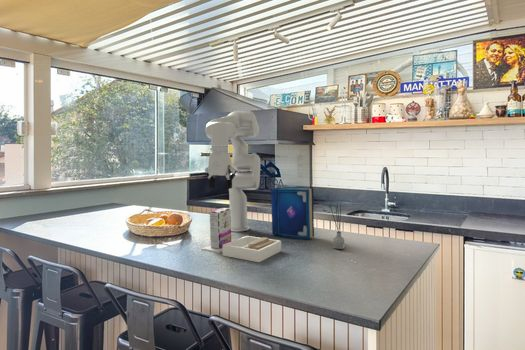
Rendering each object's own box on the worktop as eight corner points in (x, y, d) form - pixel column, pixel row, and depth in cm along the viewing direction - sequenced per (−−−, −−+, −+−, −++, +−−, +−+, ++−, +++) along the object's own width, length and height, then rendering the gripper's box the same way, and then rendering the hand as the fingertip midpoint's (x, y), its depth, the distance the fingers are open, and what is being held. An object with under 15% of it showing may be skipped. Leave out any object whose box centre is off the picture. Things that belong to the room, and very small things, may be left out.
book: (269, 235, 182) (269, 187, 181) (275, 233, 189) (275, 185, 187) (309, 240, 172) (309, 189, 170) (314, 237, 178) (314, 187, 177)
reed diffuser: (342, 252, 153) (342, 205, 151) (326, 250, 156) (326, 204, 154) (347, 246, 162) (347, 202, 160) (332, 244, 165) (332, 201, 163)
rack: (222, 255, 149) (222, 244, 149) (246, 245, 165) (246, 235, 164) (259, 262, 140) (259, 250, 140) (281, 250, 155) (281, 240, 155)
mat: (201, 249, 158) (201, 248, 158) (223, 241, 172) (223, 240, 172) (219, 252, 153) (219, 251, 153) (240, 244, 166) (240, 243, 166)
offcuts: (248, 257, 146) (248, 243, 146) (263, 250, 156) (263, 237, 156) (258, 259, 144) (258, 245, 143) (273, 252, 154) (273, 238, 153)
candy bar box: (222, 241, 169) (221, 207, 168) (231, 242, 167) (231, 208, 166) (209, 248, 158) (209, 211, 157) (219, 249, 156) (219, 212, 155)
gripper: (199, 150, 161) (200, 187, 162) (230, 149, 152) (231, 190, 153) (210, 149, 167) (211, 186, 168) (240, 149, 158) (241, 188, 159)
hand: (220, 188), depth 161 cm, fingers open, 9 cm apart
